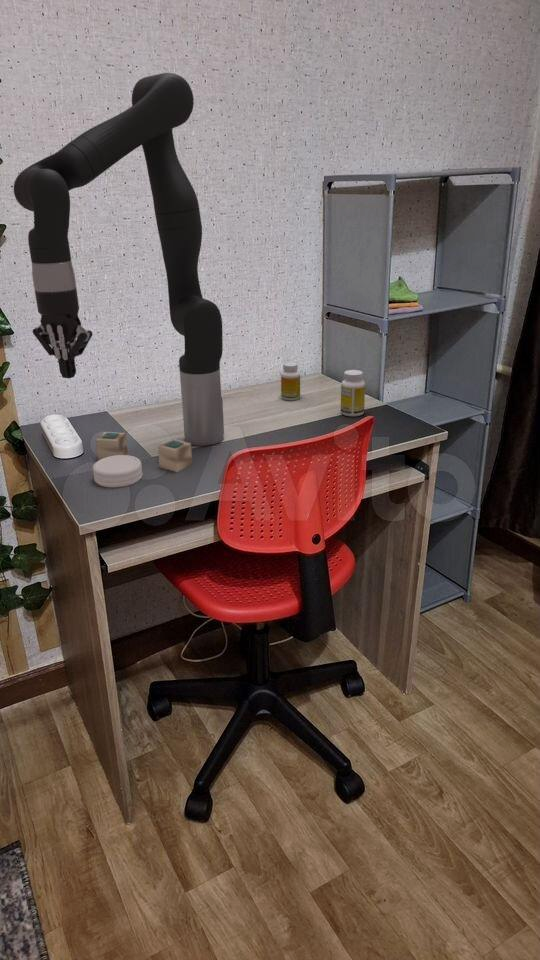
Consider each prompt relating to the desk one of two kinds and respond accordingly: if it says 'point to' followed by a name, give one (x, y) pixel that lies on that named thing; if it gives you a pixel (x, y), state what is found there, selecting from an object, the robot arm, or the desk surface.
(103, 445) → the marked block
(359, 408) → the pill bottle
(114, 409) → the desk surface
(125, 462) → the white round container
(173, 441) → the marked block
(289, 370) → the supplement bottle
